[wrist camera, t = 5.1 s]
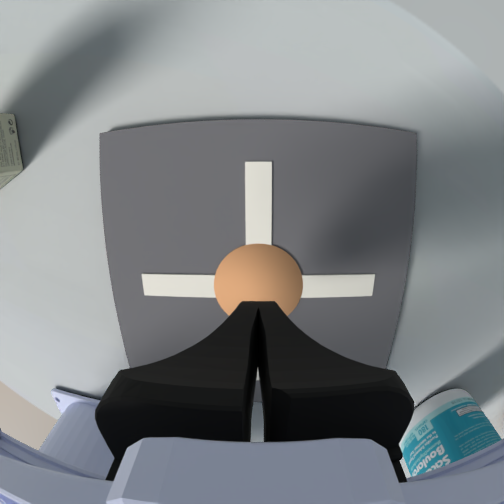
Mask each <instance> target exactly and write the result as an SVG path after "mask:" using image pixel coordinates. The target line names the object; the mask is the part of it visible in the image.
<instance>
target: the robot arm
mask: <svg viewBox="0 0 504 504" xmlns="http://www.w3.org/2000/svg"><path fill="white" fill-rule="evenodd" d="M257 371H258V372H259V381H260V389H261V397H262V406H263V416H264V442H250V439H251V416H252V407H253V400H254V393H255V386H256V378H257ZM51 394H52V396H53V398H54V400H55V402H56V404H57V406H58V408H59V410H60V412H61V414H62V415H61V417H60V418H59V420H58V421H57V423H56V424H55V426H54V427H53V429H52V430H51V432H50V433H49V435H48V436H47V438H46V439H45V441H44V442H43V444H42V446H41V447H40V449H39V450H36V449H34V448H32V447H29V446H28V445H26V444H24V443H22V442H20V441H18V440H16V439H14V438H12V437H10V436H9V435H7V434H5V433H3V432H2V431H1V429H0V504H504V439H502V440H500V441H498V442H497V443H495V444H493V445H491V446H489V447H487V448H485V449H483V450H480V451H478V452H476V453H474V454H472V455H470V456H467V457H465V458H463V459H460V460H458V461H455V462H453V463H450V464H448V465H445V466H443V467H440V468H437V469H434V470H431V471H429V472H426V473H423V474H419V475H416V476H413V477H410V478H406V477H405V474H404V471H403V469H402V466H401V464H400V461H399V460H401V459H402V457H403V453H402V451H401V448H400V446H399V443H400V441H401V439H402V437H403V435H404V433H405V431H406V430H407V428H408V426H409V423H410V421H411V419H412V416H413V413H414V401H413V399H412V397H411V396H410V394H409V392H408V390H407V388H406V386H405V384H404V383H403V381H402V380H401V378H400V377H399V376H398V374H397V373H396V371H392V370H388V369H383V368H379V367H374V366H370V365H366V364H363V363H360V362H357V361H355V360H352V359H349V358H347V357H344V356H342V355H340V354H338V353H336V352H334V351H332V350H330V349H328V348H326V347H324V346H322V345H321V344H319V343H318V342H316V341H315V340H313V339H312V338H310V337H309V336H308V335H306V334H305V333H304V332H303V331H302V330H301V329H299V328H298V327H297V326H296V325H295V324H294V323H293V322H292V321H291V320H290V319H289V318H288V316H287V315H286V314H285V313H284V312H283V310H282V309H281V308H280V307H279V305H278V304H277V303H276V302H275V301H242V302H240V303H239V305H238V306H237V307H236V309H235V310H234V311H233V312H232V313H231V314H230V316H229V317H228V318H227V319H226V320H225V321H224V322H223V323H222V324H221V325H220V326H219V327H218V328H217V329H215V330H214V331H213V332H212V333H211V334H210V335H208V336H207V337H206V338H204V339H203V340H201V341H200V342H198V343H197V344H195V345H193V346H191V347H189V348H187V349H185V350H183V351H181V352H179V353H177V354H175V355H173V356H170V357H168V358H165V359H163V360H160V361H157V362H154V363H150V364H147V365H142V366H138V367H134V368H129V369H124V370H120V371H119V372H118V374H117V375H116V376H115V378H114V379H113V380H112V382H111V384H110V385H109V387H108V389H107V390H106V392H105V394H104V395H103V397H102V399H101V400H96V399H92V398H88V397H84V396H80V395H76V394H73V393H69V392H65V391H62V390H59V389H55V388H53V389H52V391H51Z"/></svg>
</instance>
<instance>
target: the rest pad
mask: <svg viewBox="0 0 504 504" xmlns="http://www.w3.org/2000/svg"><path fill="white" fill-rule="evenodd" d="M416 167H417V136H416V133H413V132H407V131H401V130H395V129H389V128H382V127H374V126H366V125H357V124H348V123H337V122H324V121H308V120H283V119H235V120H210V121H194V122H181V123H170V124H160V125H152V126H143V127H136V128H129V129H122V130H116V131H110V132H104V133H100V182H101V200H102V213H103V224H104V234H105V243H106V251H107V258H108V265H109V272H110V278H111V284H112V290H113V296H114V301H115V306H116V311H117V316H118V321H119V325H120V330H121V334H122V338H123V343H124V347H125V351H126V355H127V358H128V362H129V366H130V368H134V367H138V366H142V365H147V364H150V363H154V362H157V361H160V360H163V359H165V358H168V357H170V356H173V355H175V354H177V353H179V352H181V351H183V350H185V349H187V348H189V347H191V346H193V345H195V344H197V343H198V342H200V341H201V340H203V339H204V338H206V337H207V336H208V335H210V334H211V333H212V332H213V331H214V330H215V329H217V328H218V327H219V326H220V325H221V324H222V323H223V322H224V321H225V320H226V319H227V318H228V317H229V316H230V314H231V313H232V312H233V311H234V310H235V309H236V307H237V306H238V305H239V303H240V302H242V301H275V302H276V303H277V304H278V305H279V307H280V308H281V309H282V310H283V312H284V313H285V314H286V315H287V316H288V318H289V319H290V320H291V321H292V322H293V323H294V324H295V325H296V326H297V327H298V328H299V329H301V330H302V331H303V332H304V333H305V334H306V335H308V336H309V337H310V338H312V339H313V340H315V341H316V342H318V343H319V344H321V345H322V346H324V347H326V348H328V349H330V350H332V351H334V352H336V353H338V354H340V355H342V356H344V357H347V358H349V359H352V360H355V361H357V362H360V363H363V364H366V365H370V366H374V367H379V368H383V369H386V366H387V362H388V358H389V355H390V351H391V347H392V343H393V339H394V335H395V331H396V327H397V322H398V318H399V313H400V308H401V303H402V298H403V293H404V288H405V282H406V276H407V270H408V263H409V256H410V248H411V240H412V231H413V221H414V209H415V193H416ZM253 402H262V397H261V389H260V381H259V372H258V371H257V378H256V386H255V393H254V400H253Z"/></svg>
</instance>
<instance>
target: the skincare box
mask: <svg viewBox="0 0 504 504" xmlns="http://www.w3.org/2000/svg"><path fill="white" fill-rule="evenodd" d="M22 170H23V166H22V160H21V155H20V148H19V142H18V136H17V130H16V123H15V117H14V114H5V113H0V189H1V188H2V187H3V186H4V185H6V184H7V183H8V182H9V181H10V180H12V179H13V178H14V177H15V176H16V175H17V174H19V173H20V172H21V171H22Z"/></svg>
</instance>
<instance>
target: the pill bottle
mask: <svg viewBox="0 0 504 504" xmlns="http://www.w3.org/2000/svg"><path fill="white" fill-rule="evenodd" d="M500 440H502V439H501V438H500V436H499V435H498V433H497V432H496V430H495V429H494V427H493V426H492V424H491V423H490V421H489V420H488V418H487V417H486V416H485V414H484V413H483V411H482V410H481V409H480V407H479V406H478V404H477V403H476V402H475V400H474V399H473V398H472V396H471V395H470V394H469V393H468V392H467V391H465V390H463V389H450V390H447V391H444V392H441V393H439V394H437V395H435V396H433V397H431V398H430V399H428V400H426V401H425V402H424V403H422V404H421V405H420V406H418V407H417V408H416V409H415V410H414V413H413V416H412V419H411V421H410V423H409V426H408V428H407V430H406V431H405V433H404V435H403V437H402V439H401V441H400V443H399V446H400V448H401V451H402V453H403V457H404V459H405V462H406V464H407V467H408V469H409V472H410V474H411V477H413V476H416V475H419V474H423V473H426V472H429V471H431V470H434V469H437V468H440V467H443V466H445V465H448V464H450V463H453V462H455V461H458V460H460V459H463V458H465V457H467V456H470V455H472V454H474V453H476V452H478V451H480V450H483V449H485V448H487V447H489V446H491V445H493V444H495V443H497V442H498V441H500Z"/></svg>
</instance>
